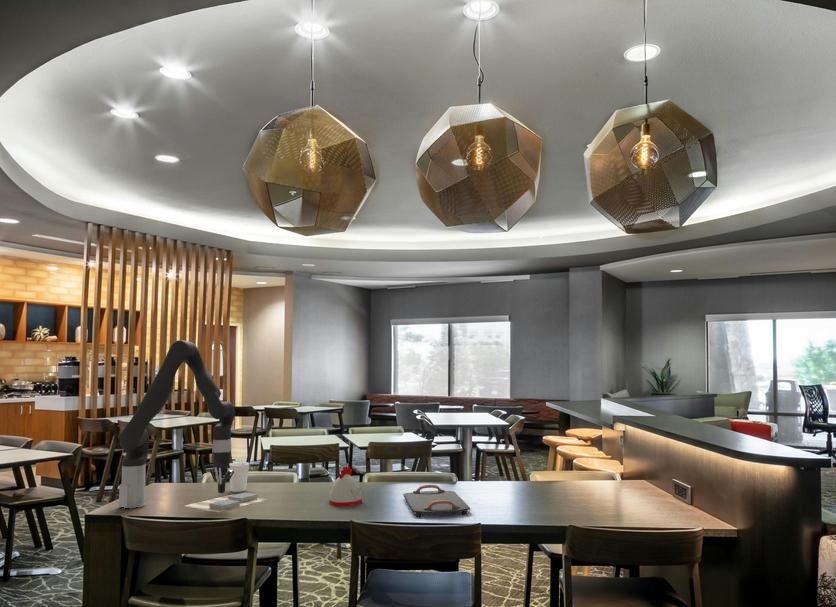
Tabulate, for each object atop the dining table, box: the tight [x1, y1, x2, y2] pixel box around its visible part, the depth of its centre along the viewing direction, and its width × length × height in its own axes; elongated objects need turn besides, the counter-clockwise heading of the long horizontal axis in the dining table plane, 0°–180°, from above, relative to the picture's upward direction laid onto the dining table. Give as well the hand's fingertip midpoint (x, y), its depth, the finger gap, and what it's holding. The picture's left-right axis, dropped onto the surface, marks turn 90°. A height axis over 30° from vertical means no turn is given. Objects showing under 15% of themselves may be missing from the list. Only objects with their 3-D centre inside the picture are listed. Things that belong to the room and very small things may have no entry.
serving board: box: [402, 484, 471, 518], centre depth 263 cm, size 39×23×6 cm, turn 8°
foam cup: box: [229, 461, 250, 493], centre depth 297 cm, size 10×9×13 cm
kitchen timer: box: [328, 466, 363, 507], centre depth 273 cm, size 14×14×15 cm
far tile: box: [227, 492, 258, 503], centre depth 275 cm, size 9×2×8 cm
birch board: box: [184, 493, 269, 513], centre depth 271 cm, size 27×22×1 cm
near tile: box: [209, 499, 240, 511], centre depth 262 cm, size 9×2×8 cm
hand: (221, 492), depth 264 cm, fingers closed
